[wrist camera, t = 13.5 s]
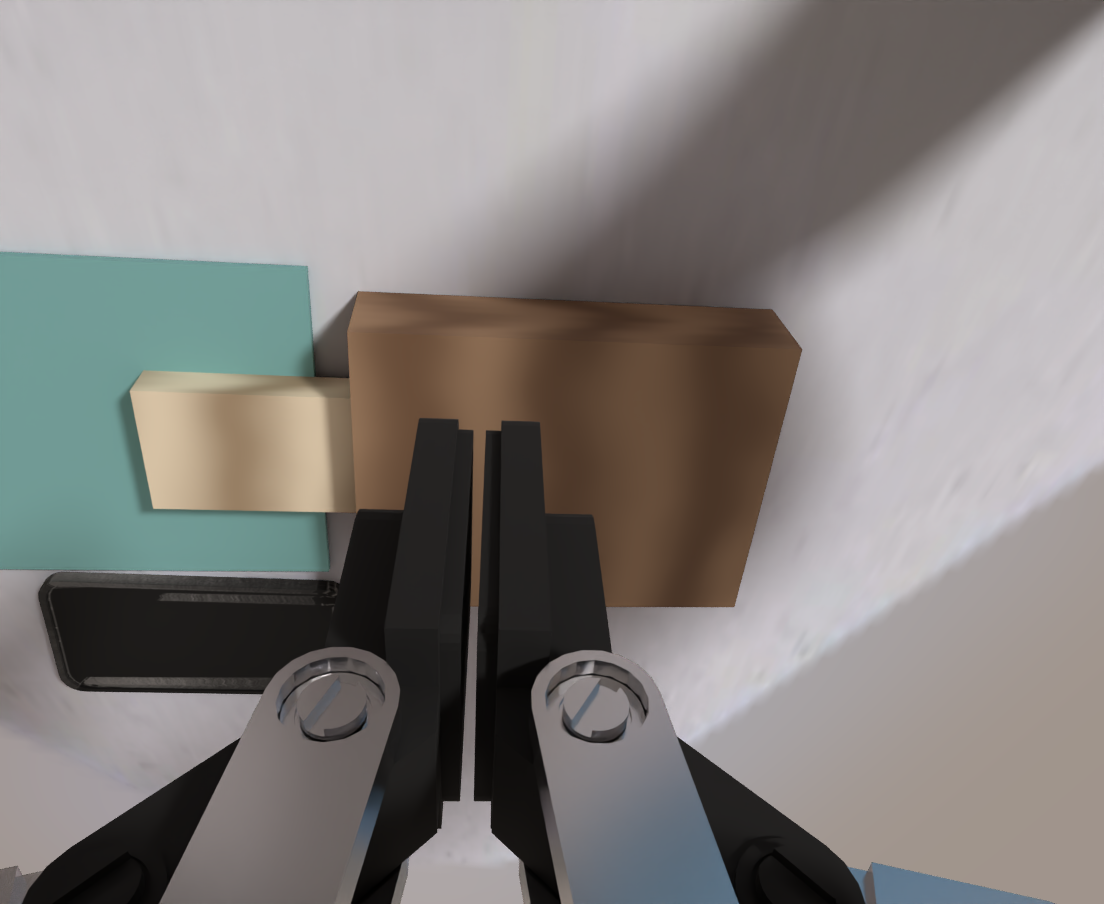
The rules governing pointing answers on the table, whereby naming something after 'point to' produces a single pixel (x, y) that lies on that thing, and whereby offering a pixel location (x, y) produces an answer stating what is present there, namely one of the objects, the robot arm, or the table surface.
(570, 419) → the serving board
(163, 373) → the coaster tile
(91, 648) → the phone
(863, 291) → the table surface
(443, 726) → the robot arm
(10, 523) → the rubber mat
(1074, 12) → the table surface
